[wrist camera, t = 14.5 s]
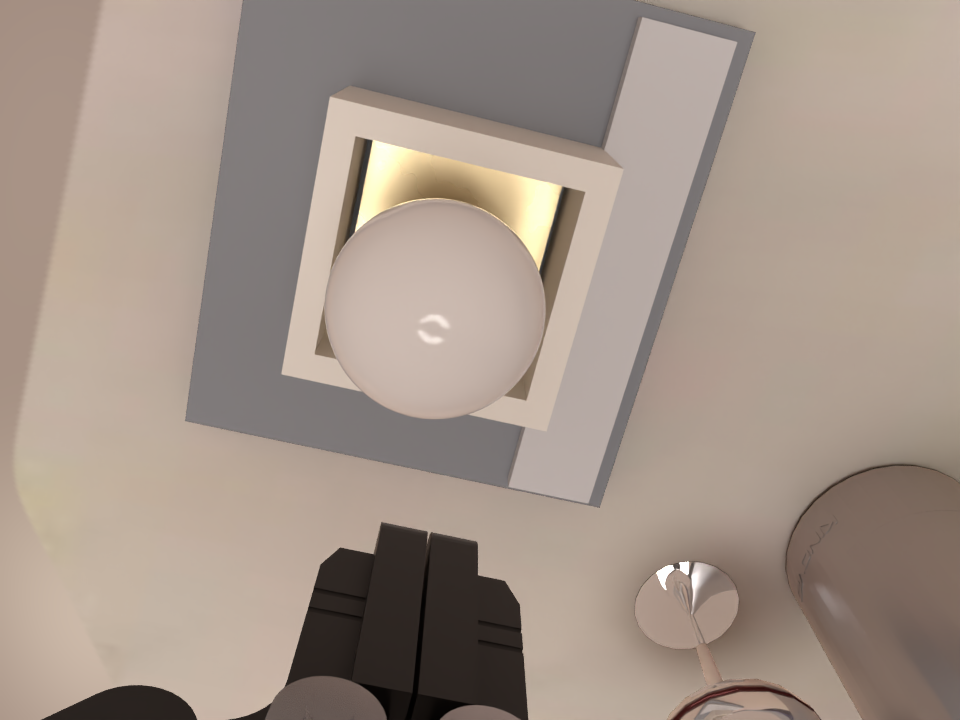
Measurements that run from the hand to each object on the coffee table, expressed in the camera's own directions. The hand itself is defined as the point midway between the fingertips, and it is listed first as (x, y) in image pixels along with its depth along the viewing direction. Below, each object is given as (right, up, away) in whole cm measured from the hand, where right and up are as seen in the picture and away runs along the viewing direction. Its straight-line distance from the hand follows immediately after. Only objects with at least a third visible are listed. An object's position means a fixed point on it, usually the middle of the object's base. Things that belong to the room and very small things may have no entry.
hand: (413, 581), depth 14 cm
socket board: (0, +9, +22) cm, 24 cm away
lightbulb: (0, +8, +20) cm, 21 cm away
